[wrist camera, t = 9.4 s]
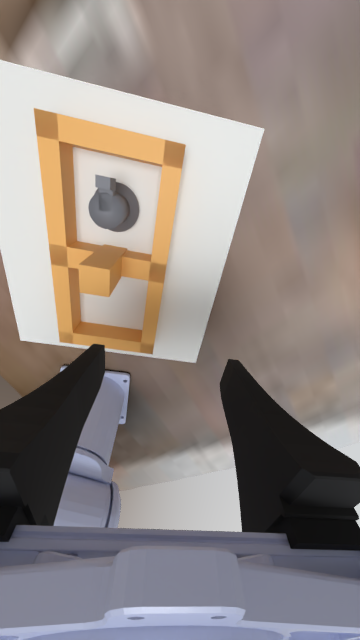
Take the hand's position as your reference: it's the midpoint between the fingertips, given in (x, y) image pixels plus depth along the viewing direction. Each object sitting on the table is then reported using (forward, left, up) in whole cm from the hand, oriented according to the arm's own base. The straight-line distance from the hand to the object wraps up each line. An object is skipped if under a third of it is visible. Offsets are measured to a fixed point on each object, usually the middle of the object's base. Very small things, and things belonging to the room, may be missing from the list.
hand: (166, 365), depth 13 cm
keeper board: (+3, +5, -10) cm, 12 cm away
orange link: (+3, +5, -8) cm, 10 cm away
